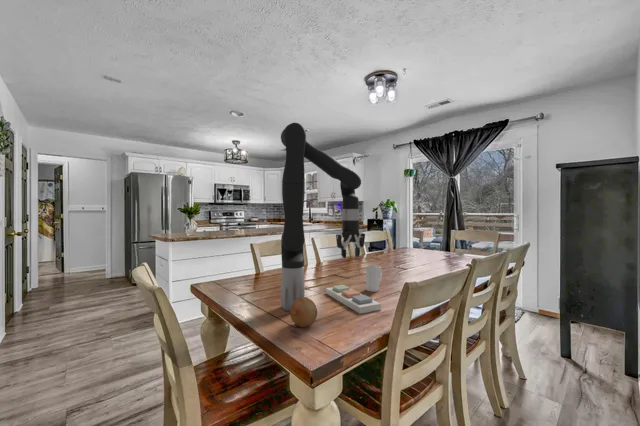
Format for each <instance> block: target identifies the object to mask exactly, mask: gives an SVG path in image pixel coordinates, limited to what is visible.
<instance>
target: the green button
mask: <svg viewBox="0 0 640 426" xmlns="http://www.w3.org/2000/svg"><path fill="white" fill-rule="evenodd" d="M332 287H333V290H334V291H336V292H338V293H340V292H342V291H345V290H350V289H351V287H350V286H347V285H345V284H339V285H332Z"/></svg>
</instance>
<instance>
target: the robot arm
mask: <svg viewBox="0 0 640 426" xmlns="http://www.w3.org/2000/svg"><path fill="white" fill-rule="evenodd" d="M280 142H281V143H282V144H283V146H284V147H285V163H284V168H283V172H282V180H281V197H282V198H281V199H282V207H283V214H284V222H283V223H284V224H283V232H282V234H281V236H280V237H281V238H280V239H281V244H280V245H281V249H280V250H281V284H280V307H281V309H282V310H283V311H284V312H290V309H291V306H292V304H293V303H294V302H295V301H296V300H297V299H299V298H301V297H305V257H304V256H305V255H304V244H305V241H306V240H305V239H306V237H305V229H304V209H305V193H306V192H305V189H306V188H305V186H306V185H305V184H306V183H305V180H306V179H305V178H306V177H305V159H306V160H308V161H309V162H310V163H312V164H314V165H315V166H316V167H318V169H320V170H321V171H322V172H324V173H325V174H327V176H329V177H330V178H333V179H334V180H338V181H339V182H340V183H339V187H340V192H341V197H342V213H341V221H342V222H341V227H342V228H341V230H342V232H341V234H339V233H337V234H336V235H335V239H336V247H337V248H339V249H340V250H341V253H340V254H341V257H342V259H346V258H347V246H348V245H349V243H353V244H354V247H355V249H354V256H355V257H356V258H358V257H360V255H361V248H364V247H365V239H366V234H365V233H364V232H360V231H359V230H360V211H359V209H360V208H359V197H358V196H357V195H356V190H357V189H359V188H360V186H361V184H362V179H361V177H360V176H359V174H358V173H356V172H355V171H354V170H352V169H350V168H349V167H346V166H344V165H343V164H341V163H340V162H339V161H338V159H335V158H334V157H333V156H332V155H331V154H328V153H326V152H324V151H323V150H321V149H319V148H317V147H315V146H313V145H312V144H311V143H309V142H308V141H307V132H306V129H305V128H304V126H303V125H302V124H300V123H298V122H291V123H289V124H287V126H285V127H284V129H283V130H282V132H281V133H280ZM342 239H343V240H342Z"/></svg>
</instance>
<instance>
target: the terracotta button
mask: <svg viewBox="0 0 640 426" xmlns="http://www.w3.org/2000/svg"><path fill="white" fill-rule="evenodd" d="M351 289H352V290H345V291H342V295H343V296H345V297H347V298H352V296H359V295H360V294H361V292H360V291H357V290H356V289H354V288H351Z"/></svg>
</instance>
